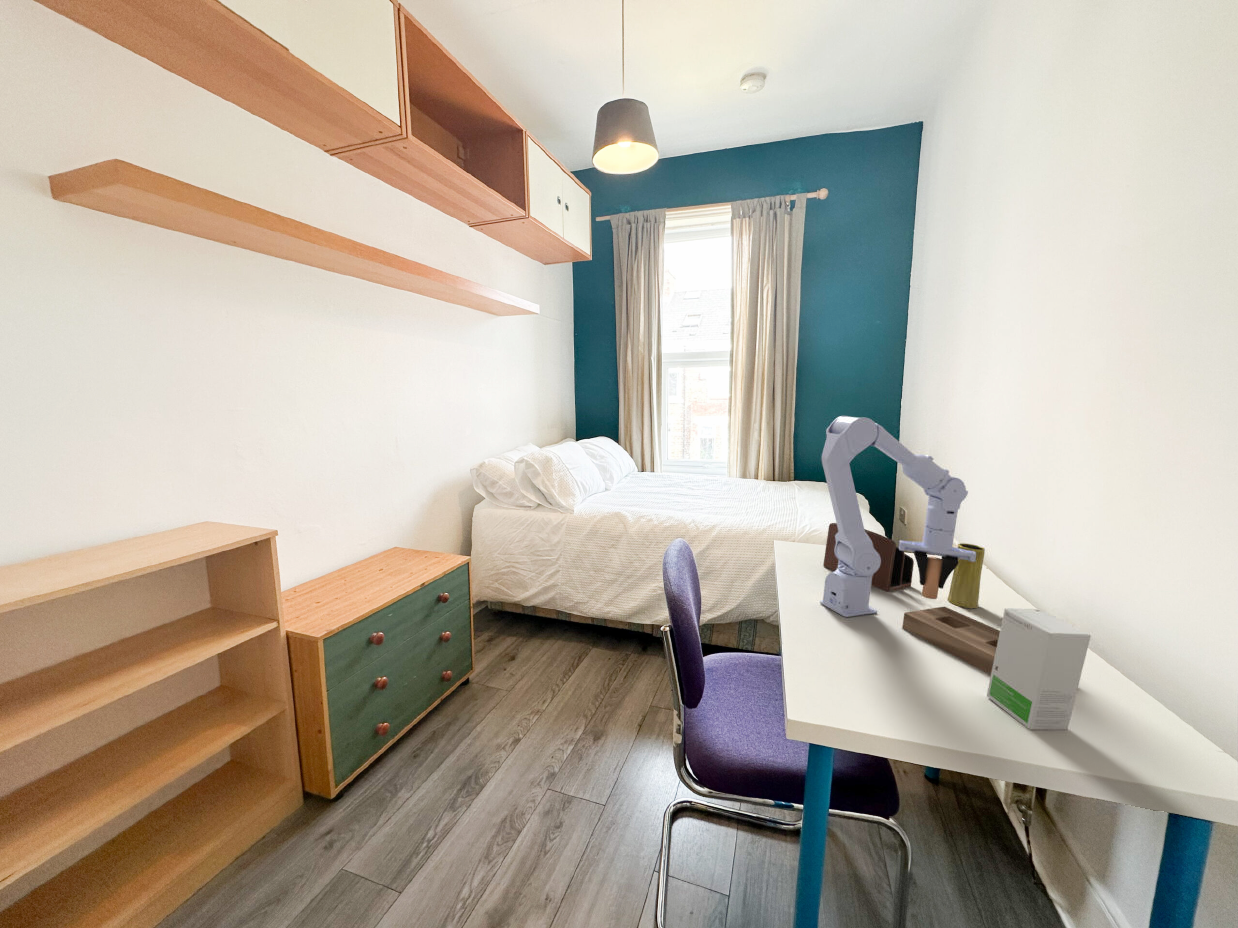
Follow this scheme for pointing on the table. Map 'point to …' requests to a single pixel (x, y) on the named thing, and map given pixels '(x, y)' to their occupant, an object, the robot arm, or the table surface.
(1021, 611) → the skincare box
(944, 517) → the robot arm
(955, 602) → the vase
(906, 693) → the table surface
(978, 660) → the hole block
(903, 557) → the letter holder
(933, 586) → the peg
